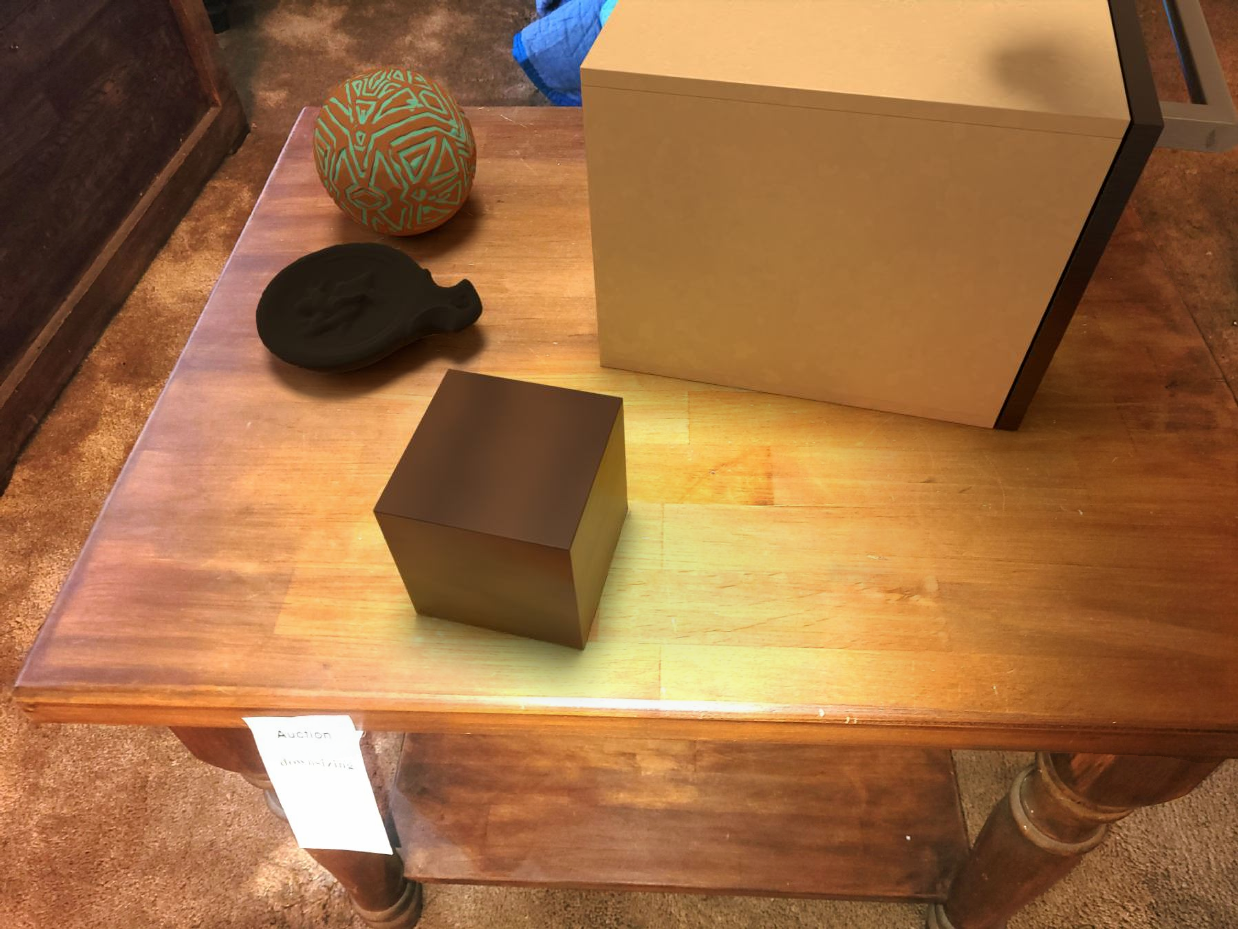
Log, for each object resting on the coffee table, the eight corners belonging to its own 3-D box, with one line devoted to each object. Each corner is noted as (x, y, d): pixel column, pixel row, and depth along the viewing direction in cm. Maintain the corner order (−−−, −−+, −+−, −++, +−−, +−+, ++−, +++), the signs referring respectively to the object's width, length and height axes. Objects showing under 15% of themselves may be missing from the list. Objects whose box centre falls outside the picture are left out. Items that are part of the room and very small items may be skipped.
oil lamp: (467, 408, 72) (456, 364, 68) (243, 391, 74) (220, 348, 70) (505, 290, 81) (497, 246, 78) (304, 279, 83) (287, 235, 80)
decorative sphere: (460, 275, 83) (428, 128, 71) (314, 259, 85) (260, 114, 74) (505, 185, 92) (483, 42, 81) (372, 172, 95) (332, 31, 83)
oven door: (1069, 159, 91) (1183, -124, 72) (1099, 444, 67) (1285, 136, 47) (993, 151, 93) (1084, -129, 73) (996, 428, 69) (1134, 122, 49)
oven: (990, 152, 93) (1082, -131, 73) (992, 428, 69) (1131, 119, 49) (693, 121, 99) (703, -149, 79) (600, 366, 75) (579, 66, 55)
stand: (628, 508, 65) (623, 397, 56) (583, 650, 58) (569, 550, 49) (476, 479, 67) (448, 367, 58) (416, 613, 60) (371, 510, 51)
